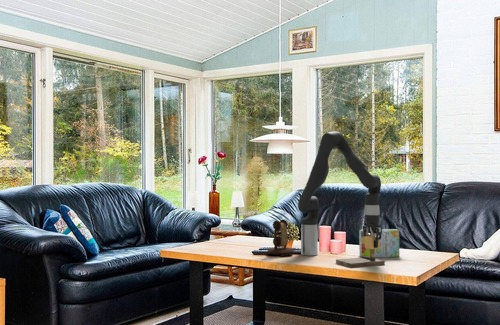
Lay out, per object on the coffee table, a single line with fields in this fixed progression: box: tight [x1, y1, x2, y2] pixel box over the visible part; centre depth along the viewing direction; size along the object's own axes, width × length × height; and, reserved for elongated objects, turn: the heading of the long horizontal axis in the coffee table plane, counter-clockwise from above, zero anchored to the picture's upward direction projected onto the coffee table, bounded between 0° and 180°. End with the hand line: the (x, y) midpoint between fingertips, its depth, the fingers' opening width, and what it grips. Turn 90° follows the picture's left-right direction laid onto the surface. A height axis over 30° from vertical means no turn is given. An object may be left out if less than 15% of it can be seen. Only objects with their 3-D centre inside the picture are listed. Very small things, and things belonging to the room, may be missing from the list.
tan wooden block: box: [365, 236, 380, 249], centre depth 281 cm, size 5×5×6 cm
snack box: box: [358, 228, 400, 258], centre depth 306 cm, size 21×6×15 cm, turn 92°
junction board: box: [335, 249, 386, 269], centre depth 282 cm, size 14×20×9 cm
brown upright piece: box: [267, 219, 294, 258], centre depth 313 cm, size 15×15×20 cm
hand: (372, 246), depth 281 cm, fingers closed on tan wooden block, 5 cm apart
